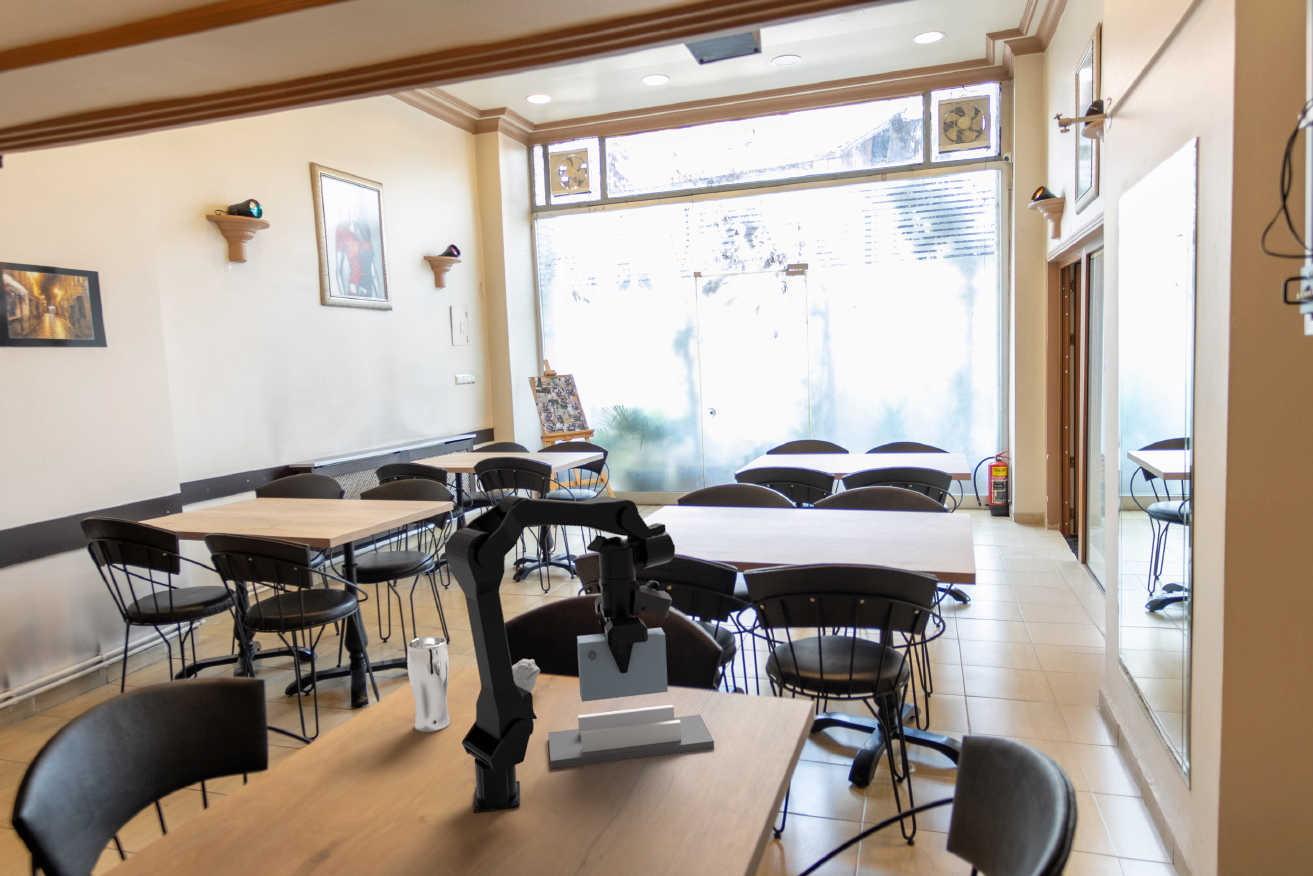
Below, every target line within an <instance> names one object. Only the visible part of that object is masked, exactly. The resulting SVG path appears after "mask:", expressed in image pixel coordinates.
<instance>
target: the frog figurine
mask: <svg viewBox="0 0 1313 876" xmlns="http://www.w3.org/2000/svg"><path fill="white" fill-rule="evenodd" d="M512 670H513V675H514V681H515V684H516V685H517V686H519V687H521V688H523V689H525V690H527V691H529V692H531V693H532V691H533V690H534V688H535V686H536V683H537V681H536V680H537V679H538V676H539V675H540V672H541V669H540V668H539V667H538V666H537V664H536V662H535V659H533V658H531V659H527V658H522V659H520V660H518V662H517V663H515V664H513V665H512Z"/></svg>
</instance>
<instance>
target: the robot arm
mask: <svg viewBox="0 0 1313 876" xmlns="http://www.w3.org/2000/svg"><path fill="white" fill-rule="evenodd" d="M528 525H546V526H548V525H549V526H563V527H564V526H568V527H569V526H572V527H584V528H587V529H591V530H594V531H599V532H603V533H608V534H612V535H618V536H612V537H606V536H604V535H603V536H602V535H599V534H597V535H595V537H594V539H593V540H592V541H590V542H589V544H588V545H587V547H586V549H587V551H589V552H594V553H598V558H599V559H598V560H599V561H598V562H599V578H598V586H599V587H600V594H599V595H598V596H597V597H596V598H595V600H594V607H595V608H594V609H595V613H596V616H601V614H602V617H603V618H599V619H598V623H599V626H600V627H601V630H602V632H603V633H605V634H604V637H605V639H606V642H607V644H608V646H609V648H610V650H611V653H612V655H613V657H614V659H615V662H616V664H617V666H618V668H619V670H620V673H627V672H628V667H629V662H630V657H631V652H632V648H633V644H634V643H639V642H646V641H648V629H649V628H648V627H647V625H646V624H645V622H644V620H642V619H641V618H640V617H639V616H642V612H645V613H648V614H652V615H656V616H659V618H663V619H667V618H668V615H669V613H670V608H671V605H672V602H673V599H672V597H671V596H670V595H671V594H669V593H668V592H666V591H665V590H661V585H660V583H659V582H658V581H656V580H652V579H651V580H649V581H648V582H647V583H646V584H645V585H640V583H639V582H638V581H637V578H636V569H639V570H643V569H649V568H652V567H655V566H660V565H663V564H667V563H669V562H671V561H672V560H673V559H674V556H675V553H676V547H675V544H674V541H673V538H672V536H671V535H670V534H669V533H668V532H667V531H666V525H665V524H663V523H658V522H657V523H652V524H650V525H647V523H646V522H645V521H644V519H643V518H642V516H641V515H640V513H639V509H638V507H637V505H636V502H634V501H632V500H630V499H626V498H625V499H624V498H619V497H612V496H600V497H597V496H596V497H591V498H588V499H583V500H578V501H573V500H572V501H571V500H561V499H560V500H559V499H558V500H557V499H544V498H529V497H523V496H517V495H512V494H511V495H506V496H504V497H503V498H501V499H500V500H499V501H498V502H497V503H496V504H495V505H494V506H492V507H491V508H490V509H488V510H486V511H485V512H483V513H482V514H479V515H478V516H477V517H474V518H473V519H472V520H471V521H470V522H469V523H468V524H466V525H465V526H464V527H463V528H458V530H456V531H454V532H453V533H452V534H451V535H450V537H449V538H448V540H447V541H446V542H445V544H444V545H445V546H444V551H445V552H444V553H445V558H446V560H447V562H448V566H449V568H450V571H451V574H452V575H453V577H454V580H455V581H456V582H457V584H458V586H459V587H460V589H461V590H462V593H463V594H464V596H465V602H466V607H467V614H468V619H469V624H470V625H469V626H470V631H471V636H472V641H473V646H474V652H475V658H476V664H477V669H478V674H479V676H478V677H479V680H480V690H479V693H478V696H477V700H476V704H475V709H476V710H475V711H476V712H475V713H476V714H475V715H476V716H475V717H476V719H475V721H474V723H473V724H472V725H471V727H470V728H469V730H468V732H467V734H465V736H464V737H463V739H462V741H461V744H462V747H463V749H464V750H465V753H466V754H467V755H470V756H472V757H473V758H474V772H475V773H474V774H475V785H476V786H475V787H474V788H475V789H474V797H473V805H472V811H473V813H474V812H475V813H478V812H479V813H480V812H487V811H494V810H500V809H501V810H503V809H509V808H517V807H519V806H520V805H521V782H520V781H519V780H517V771H516V770H517V768H516V765H519V764H521V763H523V762H524V760H525V758H526V757H525V756H526V752H527V749H528V746H529V741H530V737H531V735H532V734H533V733H534V729H535V723H534V720H537V719H538V717H537V715H536V714H535V711H534V707H533V706H534V699H533V695H532V691H531V692H529V691H527V690H525V689H523V688H521V687H519V686H517V685H516V684H515V681H514V675H513V670H512V666H513V665H512V659H511V653H510V648H509V647H510V646H509V641H508V636H507V635H508V634H507V630H506V624H505V618H504V612H503V608H502V607H503V606H502V601H501V595H500V588H501V584H502V581H503V577H504V575H505V571H506V570H505V559H506V558H505V557H506V555H507V554H508V553H509V552H511V550H512V549H514V547H515V546H516V545H517V543H518V541H519V539H520V537H521V535H522V533H523V531H524V530H525V529H526V527H527V526H528ZM620 536H622V537H626V538H622V537H620ZM603 633H602V634H603Z"/></svg>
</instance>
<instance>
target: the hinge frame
mask: <svg viewBox="0 0 1313 876" xmlns="http://www.w3.org/2000/svg"><path fill="white" fill-rule="evenodd" d="M577 720H578V723H577V724H578V728H575V729H566V730H557V731H549V732H548V747H549V760H550V769H556V768H564V767H571V766H572V767H573V766H581V765H588V764H589V765H590V764H596V763H603V762H604V763H605V762H612V761H619V760H620V761H621V760H629V759H637V758H645V757H652V756H661V755H668V754H677V753H685V752H693V751H701V750H709V749H715V740H714V738H713V736H712V734H711V733H710V731H709V729H708V727H707V725H706V723H705V721H704V719H703V718H702V716H701V714H695V715H694V714H693V715H685V716H679V717H677V716H675V707H674V704H666V705H657V706H656V705H655V706H649V707H648V706H647V707H641V708H632V709H631V708H630V709H622V710H621V709H620V710H616V711H615V710H614V711H605V712H604V711H603V712H596V713H588V714H579V715H577Z"/></svg>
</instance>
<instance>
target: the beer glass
mask: <svg viewBox="0 0 1313 876" xmlns="http://www.w3.org/2000/svg"><path fill="white" fill-rule="evenodd" d="M406 647H407V659H406V660H407V672H408V673H407V675H408V678H409V679H408V680H409V684H410V688H411V692H412V697H413V700H414V703H415V718H414V719H415V720H414V729H415V730H416V731H418V732H419V733H434V732H437V731H441V730H444V729H445V728H447V727H448V726H449V725H450V723H451V717H450V713H449V710H448V705H447V704H448V703H447V702H448V700H447V699H448V698H447V696H448V687H449V679H450V661H449V660H450V659H449V650H448V646H447V639H446V638H445V637H444V636H440V635H439V636H437V635H429V636H427V635H426V636H422V637H417V638H415V639H413V640H411V641H409V642H408V643H407V646H406Z"/></svg>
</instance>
